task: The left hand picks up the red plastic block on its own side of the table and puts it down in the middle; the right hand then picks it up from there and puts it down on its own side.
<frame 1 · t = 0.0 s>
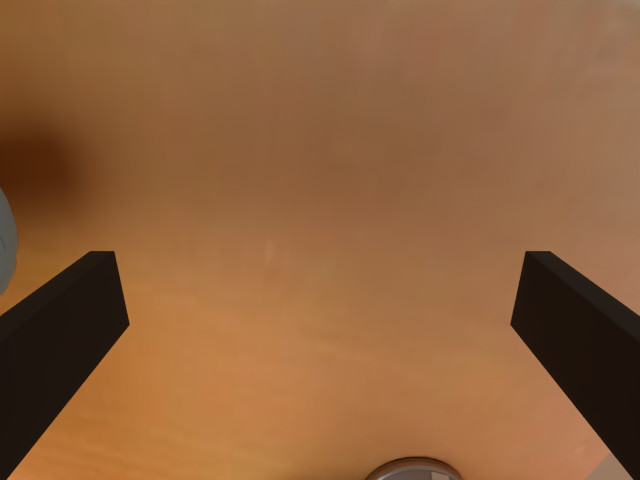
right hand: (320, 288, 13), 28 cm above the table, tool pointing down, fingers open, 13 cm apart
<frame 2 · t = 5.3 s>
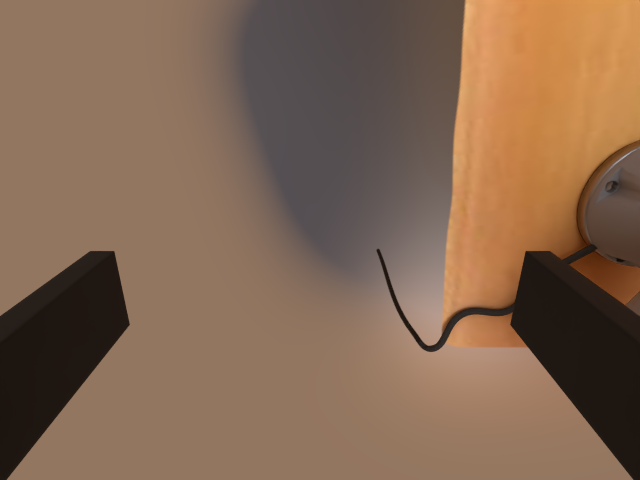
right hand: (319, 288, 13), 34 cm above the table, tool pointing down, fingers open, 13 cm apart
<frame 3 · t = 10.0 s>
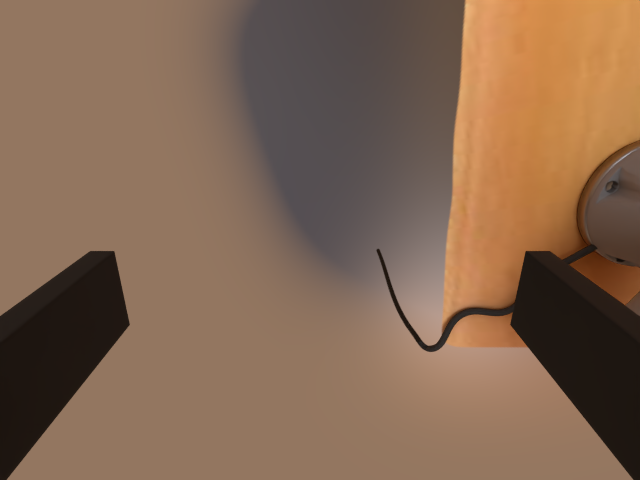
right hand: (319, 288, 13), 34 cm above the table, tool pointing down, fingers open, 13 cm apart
when the left hand's fingers open (3 cm above the table, at t = 14.7 s): block drops 1 cm, on the table.
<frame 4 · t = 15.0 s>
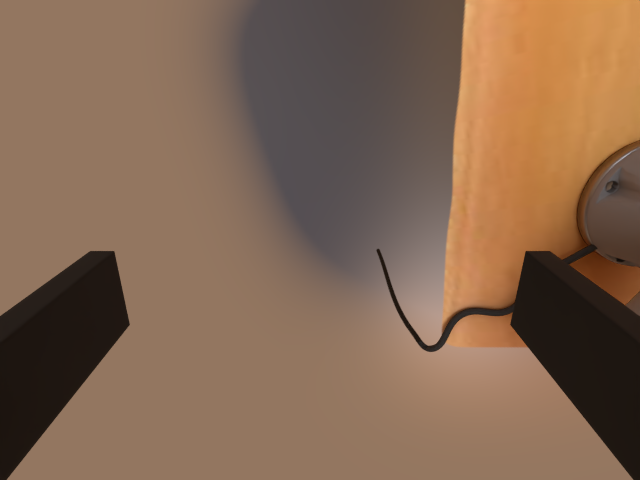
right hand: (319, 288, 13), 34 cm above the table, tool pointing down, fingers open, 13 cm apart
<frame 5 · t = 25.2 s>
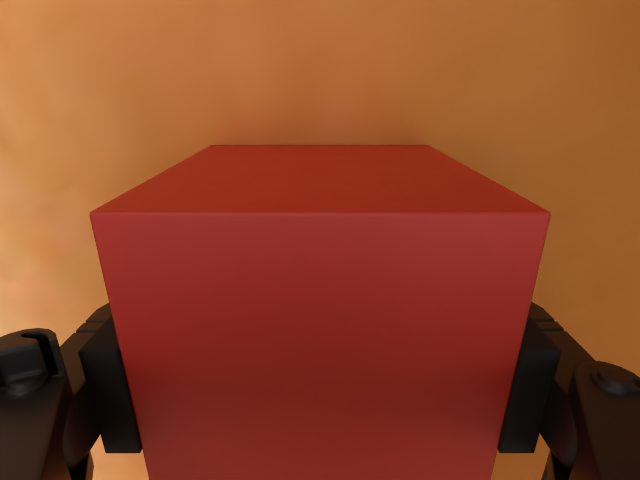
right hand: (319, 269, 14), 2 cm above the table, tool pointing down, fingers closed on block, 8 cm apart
block: (319, 250, 16), on the table, touching right hand
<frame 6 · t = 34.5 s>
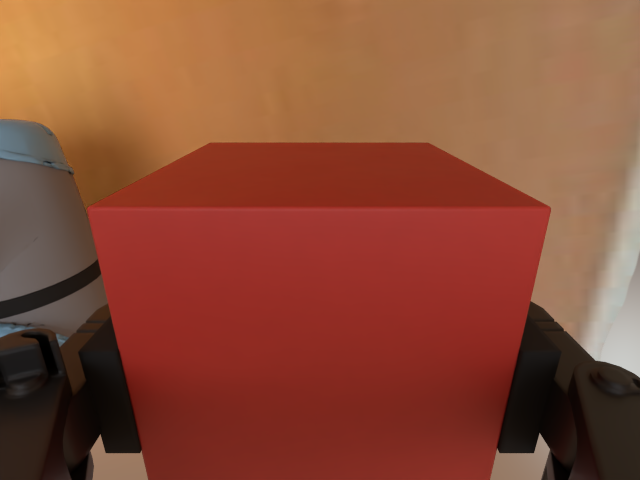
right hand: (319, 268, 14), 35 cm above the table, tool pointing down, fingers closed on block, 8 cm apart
block: (319, 248, 16), point 34 cm above the table, touching right hand
when the right hand's fingers open (3 cm above the table, at t = 43.9 s): block drops 1 cm, on the table.
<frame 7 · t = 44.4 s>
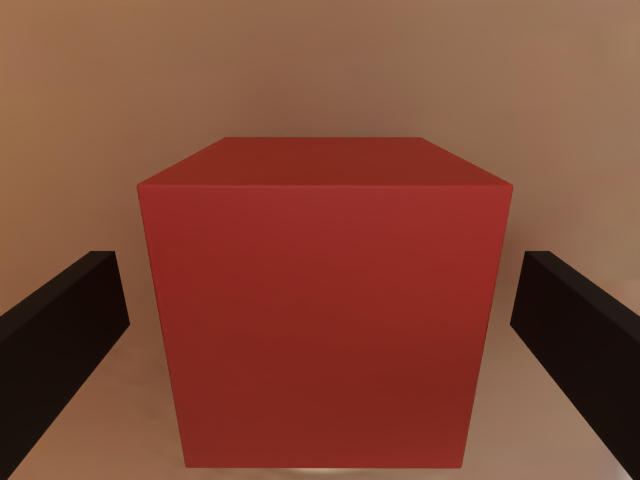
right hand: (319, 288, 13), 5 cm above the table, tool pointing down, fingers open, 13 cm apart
block: (322, 234, 17), on the table
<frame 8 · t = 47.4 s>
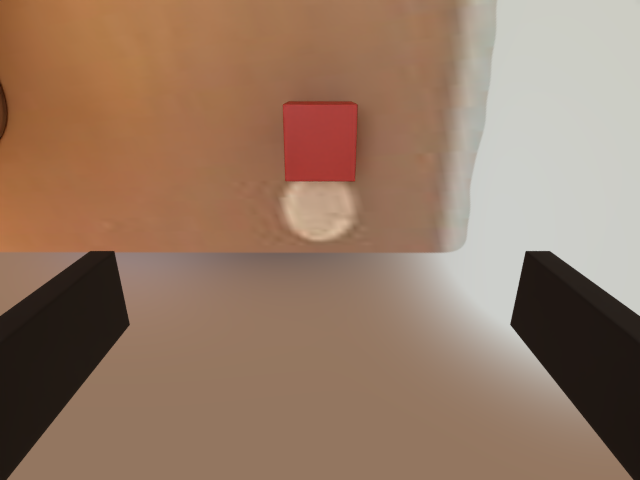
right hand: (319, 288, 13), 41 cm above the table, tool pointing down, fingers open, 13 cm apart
block: (320, 135, 51), on the table
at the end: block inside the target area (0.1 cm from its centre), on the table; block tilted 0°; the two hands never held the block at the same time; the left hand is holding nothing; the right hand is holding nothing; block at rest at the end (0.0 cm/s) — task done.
